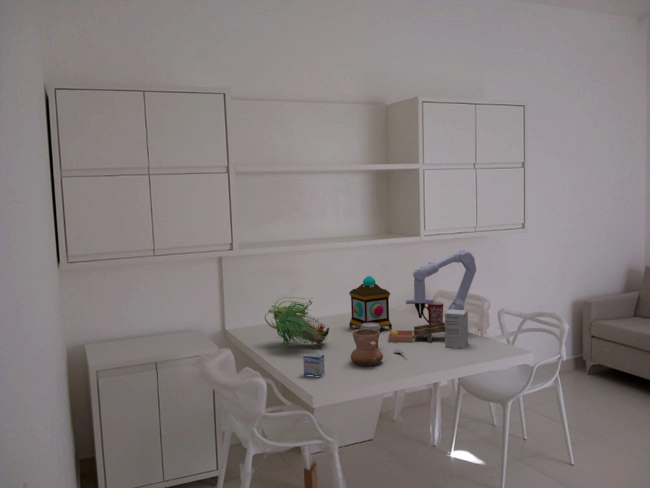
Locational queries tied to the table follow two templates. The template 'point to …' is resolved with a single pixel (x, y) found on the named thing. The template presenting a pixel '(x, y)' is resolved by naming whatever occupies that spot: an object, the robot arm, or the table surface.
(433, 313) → the mug
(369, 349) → the ceramic jug
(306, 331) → the plant
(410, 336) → the tray
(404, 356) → the spoon
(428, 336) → the seesaw stand
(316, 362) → the medicine box
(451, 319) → the supplement box
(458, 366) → the table surface
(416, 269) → the robot arm
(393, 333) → the ball
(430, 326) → the brown wooden tray
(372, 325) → the disposable coffee cup
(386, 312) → the decorative lantern
